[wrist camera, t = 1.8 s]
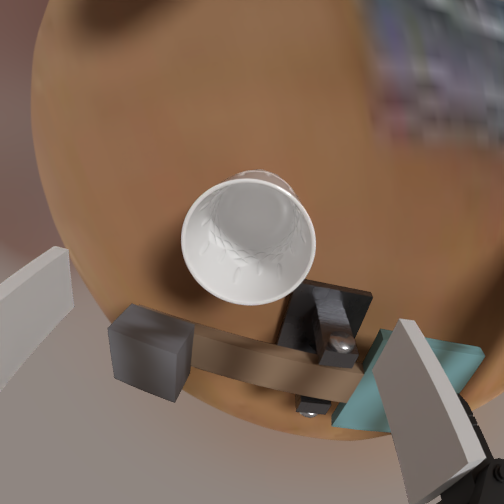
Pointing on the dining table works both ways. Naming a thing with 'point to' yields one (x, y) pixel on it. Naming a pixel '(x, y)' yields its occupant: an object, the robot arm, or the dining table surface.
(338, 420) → the balance beam
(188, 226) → the white cup
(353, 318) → the beam stand
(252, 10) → the dining table surface
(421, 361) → the robot arm
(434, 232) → the dining table surface
